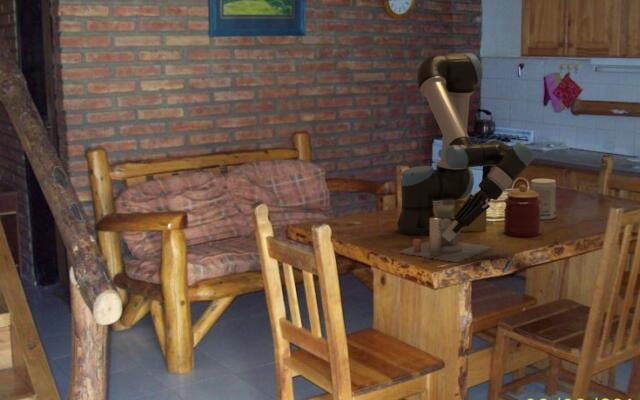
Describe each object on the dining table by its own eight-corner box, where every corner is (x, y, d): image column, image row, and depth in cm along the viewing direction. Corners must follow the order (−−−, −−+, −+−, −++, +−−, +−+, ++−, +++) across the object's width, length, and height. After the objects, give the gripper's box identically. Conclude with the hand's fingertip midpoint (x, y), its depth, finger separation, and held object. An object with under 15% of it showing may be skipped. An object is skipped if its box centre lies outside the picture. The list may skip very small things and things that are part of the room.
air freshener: (453, 215, 352) (453, 190, 351) (467, 218, 346) (467, 193, 344) (432, 218, 347) (432, 193, 345) (446, 221, 340) (446, 196, 338)
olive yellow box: (481, 225, 332) (481, 199, 331) (487, 231, 322) (487, 204, 320) (453, 226, 332) (453, 200, 330) (458, 232, 322) (459, 205, 320)
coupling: (438, 243, 299) (438, 209, 297) (460, 246, 295) (461, 210, 293) (421, 254, 285) (421, 218, 283) (445, 256, 281) (445, 219, 279)
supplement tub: (540, 214, 350) (541, 177, 348) (560, 217, 343) (561, 180, 340) (525, 217, 344) (525, 180, 342) (545, 221, 337) (546, 183, 334)
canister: (527, 227, 326) (528, 180, 323) (548, 234, 314) (549, 186, 311) (496, 231, 322) (497, 183, 318) (516, 238, 310) (517, 189, 307)
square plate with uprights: (399, 253, 292) (399, 221, 290) (435, 240, 309) (435, 210, 307) (456, 263, 278) (457, 229, 276) (491, 249, 295) (491, 217, 293)
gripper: (511, 195, 277) (460, 250, 277) (494, 188, 291) (446, 241, 291) (495, 179, 275) (444, 235, 275) (479, 173, 289) (430, 226, 289)
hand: (445, 238), depth 283 cm, fingers closed
